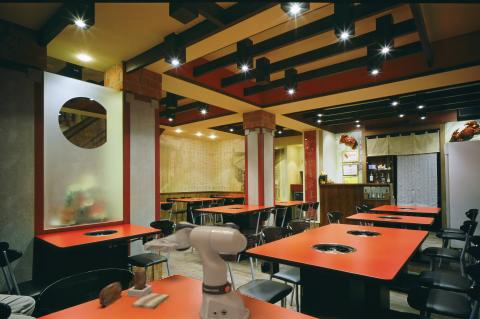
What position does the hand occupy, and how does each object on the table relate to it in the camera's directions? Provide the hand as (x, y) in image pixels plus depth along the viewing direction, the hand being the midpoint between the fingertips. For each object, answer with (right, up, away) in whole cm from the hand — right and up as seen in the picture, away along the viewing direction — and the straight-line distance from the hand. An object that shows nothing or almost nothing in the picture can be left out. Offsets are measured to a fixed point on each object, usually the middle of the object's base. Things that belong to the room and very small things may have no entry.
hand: (153, 249), depth 167 cm
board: (+6, -18, -24) cm, 31 cm away
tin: (-14, -19, -24) cm, 34 cm away
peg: (-3, -19, -14) cm, 24 cm away
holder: (-3, -19, -14) cm, 24 cm away
